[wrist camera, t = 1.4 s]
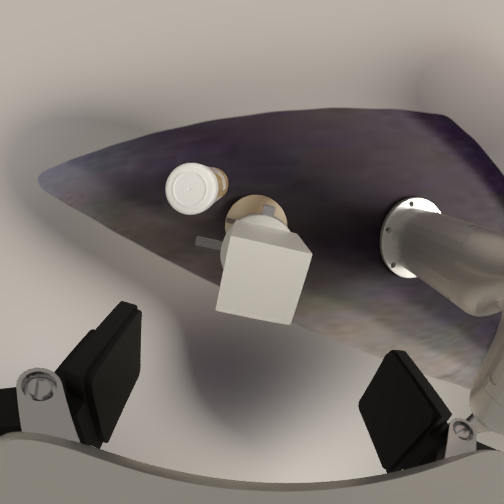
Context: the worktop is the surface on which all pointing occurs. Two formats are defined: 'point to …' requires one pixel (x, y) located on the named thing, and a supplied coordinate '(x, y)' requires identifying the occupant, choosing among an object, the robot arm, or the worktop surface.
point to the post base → (252, 209)
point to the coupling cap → (260, 267)
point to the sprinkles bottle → (195, 187)
